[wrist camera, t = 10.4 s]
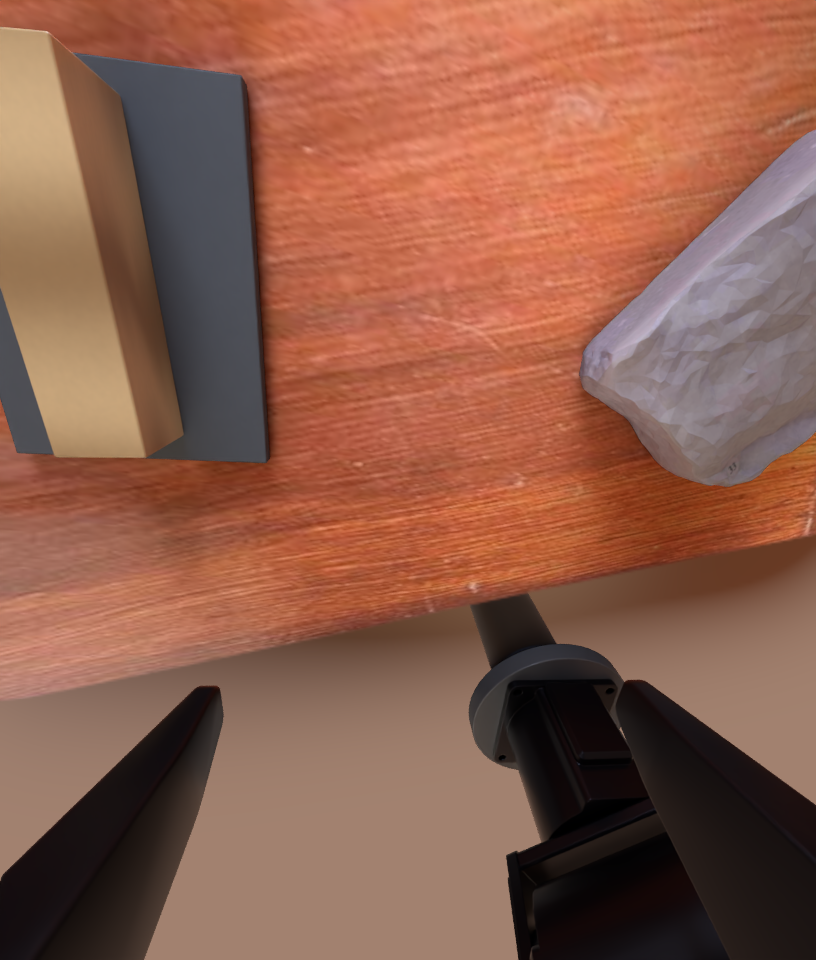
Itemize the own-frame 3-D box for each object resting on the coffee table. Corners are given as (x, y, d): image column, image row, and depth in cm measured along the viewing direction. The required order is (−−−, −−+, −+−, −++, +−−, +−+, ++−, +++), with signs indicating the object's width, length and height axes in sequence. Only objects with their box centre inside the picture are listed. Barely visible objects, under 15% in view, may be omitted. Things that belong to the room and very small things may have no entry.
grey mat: (270, 459, 18) (266, 463, 17) (28, 449, 17) (16, 453, 16) (247, 84, 13) (241, 74, 12) (-95, 39, 12) (-117, 26, 11)
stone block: (850, 302, 19) (806, 95, 14) (996, 320, 15) (1005, 37, 10) (642, 474, 22) (547, 353, 17) (716, 527, 18) (619, 389, 13)
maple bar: (184, 435, 16) (146, 458, 14) (108, 434, 16) (53, 458, 13) (121, 95, 12) (47, 29, 10) (18, 86, 12) (-89, 16, 9)
